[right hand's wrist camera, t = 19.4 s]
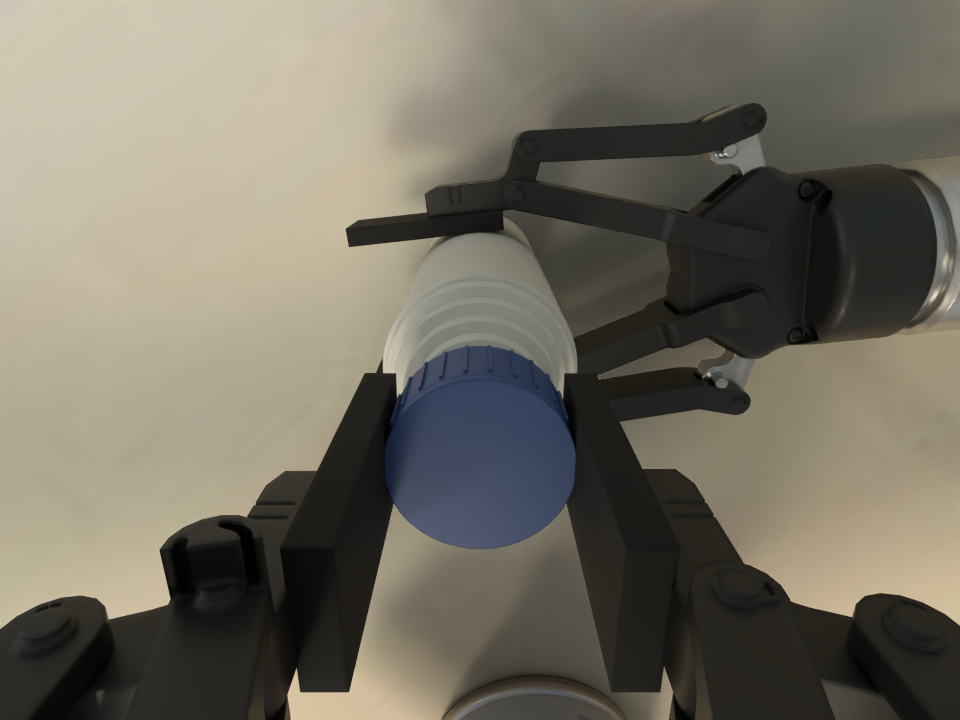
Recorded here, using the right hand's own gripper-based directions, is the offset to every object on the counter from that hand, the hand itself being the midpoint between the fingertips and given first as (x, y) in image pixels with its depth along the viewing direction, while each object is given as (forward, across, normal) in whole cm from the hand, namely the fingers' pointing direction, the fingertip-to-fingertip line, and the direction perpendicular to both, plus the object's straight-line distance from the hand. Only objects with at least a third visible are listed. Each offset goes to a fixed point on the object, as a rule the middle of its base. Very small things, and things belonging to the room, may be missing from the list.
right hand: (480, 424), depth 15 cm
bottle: (+19, 0, 0) cm, 19 cm away
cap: (-2, 0, 0) cm, 2 cm away
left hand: (+13, -5, -1) cm, 14 cm away
